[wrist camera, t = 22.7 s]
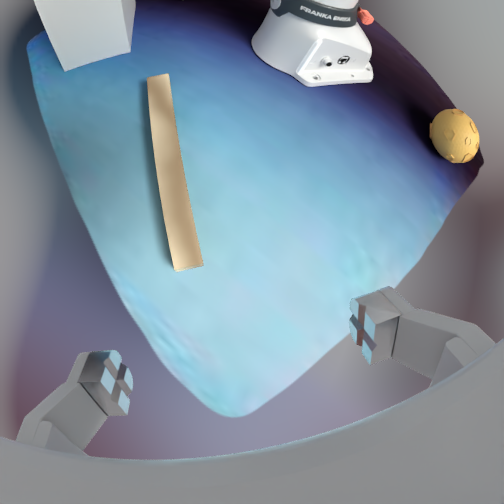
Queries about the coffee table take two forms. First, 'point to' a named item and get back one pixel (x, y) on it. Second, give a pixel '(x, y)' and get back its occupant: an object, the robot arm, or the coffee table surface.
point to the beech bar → (172, 177)
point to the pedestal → (87, 29)
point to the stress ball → (454, 135)
